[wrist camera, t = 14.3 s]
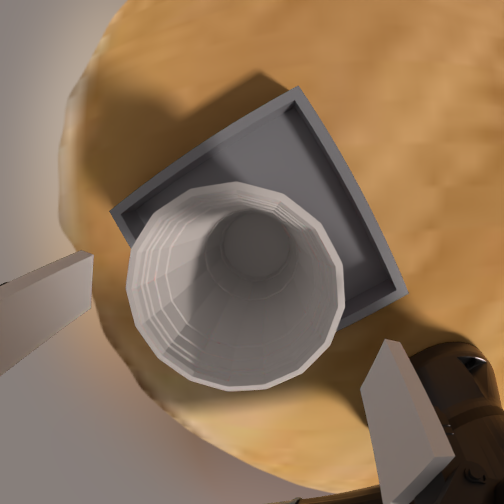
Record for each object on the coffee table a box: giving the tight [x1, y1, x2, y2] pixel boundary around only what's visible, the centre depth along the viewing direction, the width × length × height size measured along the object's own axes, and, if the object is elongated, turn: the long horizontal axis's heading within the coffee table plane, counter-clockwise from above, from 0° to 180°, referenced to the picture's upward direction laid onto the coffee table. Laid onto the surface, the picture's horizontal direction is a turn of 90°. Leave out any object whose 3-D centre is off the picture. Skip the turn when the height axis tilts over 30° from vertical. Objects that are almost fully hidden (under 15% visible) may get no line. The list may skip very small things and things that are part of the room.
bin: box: [109, 86, 408, 332], centre depth 25 cm, size 18×18×4 cm
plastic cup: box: [126, 181, 345, 391], centre depth 20 cm, size 11×11×12 cm
